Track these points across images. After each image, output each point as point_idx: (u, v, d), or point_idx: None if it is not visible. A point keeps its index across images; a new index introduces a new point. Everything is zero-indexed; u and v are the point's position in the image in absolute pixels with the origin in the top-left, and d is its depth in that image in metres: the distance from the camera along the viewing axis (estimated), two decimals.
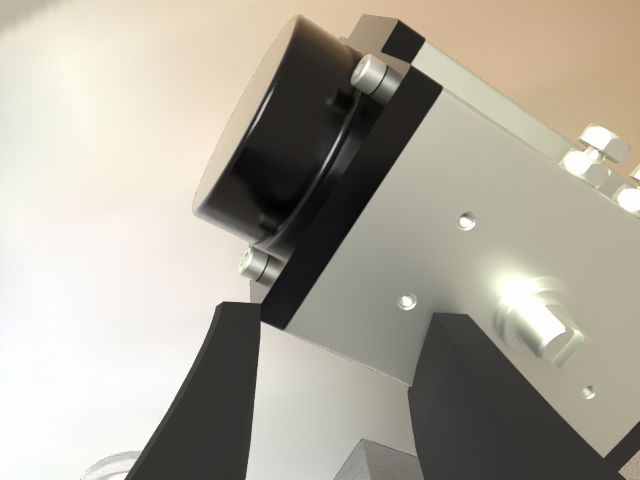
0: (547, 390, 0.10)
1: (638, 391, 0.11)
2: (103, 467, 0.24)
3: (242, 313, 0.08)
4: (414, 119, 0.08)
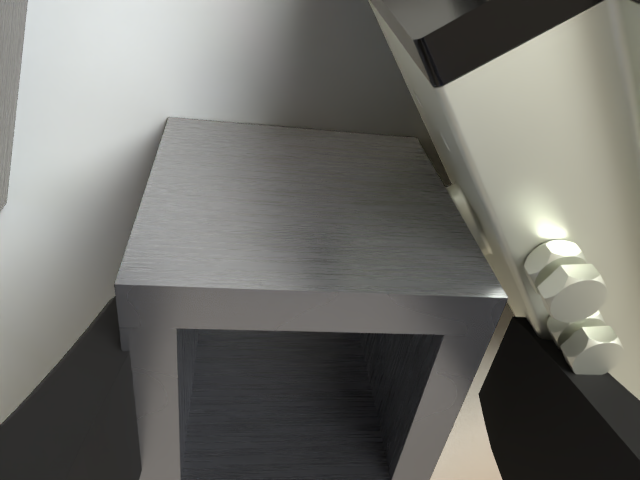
0: None
1: (514, 309, 0.12)
2: None
3: None
4: (417, 62, 0.06)
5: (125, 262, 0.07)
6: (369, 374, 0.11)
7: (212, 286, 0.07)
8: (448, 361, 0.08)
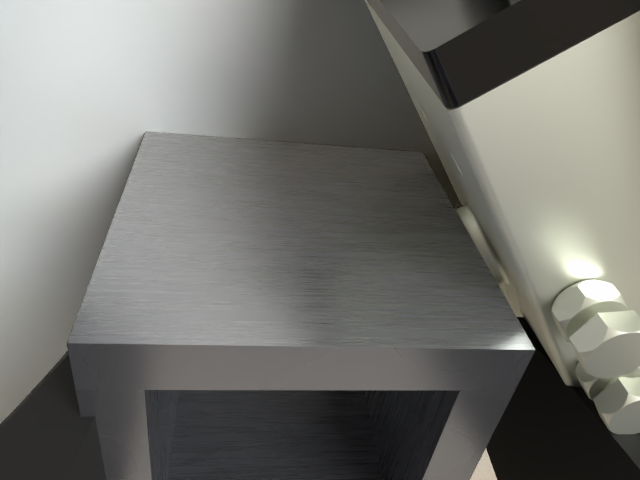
0: None
1: None
2: None
3: None
4: (426, 77, 0.05)
5: (82, 313, 0.06)
6: (370, 413, 0.10)
7: (186, 342, 0.06)
8: (463, 419, 0.07)
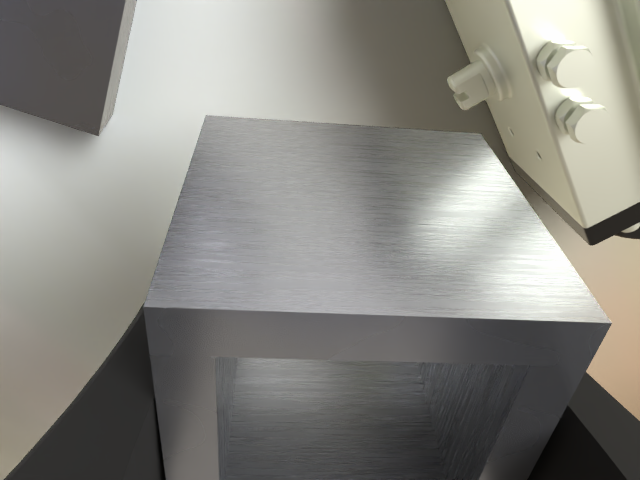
0: (496, 104, 0.15)
1: (529, 166, 0.15)
2: None
3: None
4: None
5: (156, 280, 0.06)
6: (427, 398, 0.10)
7: (256, 309, 0.06)
8: (533, 396, 0.07)
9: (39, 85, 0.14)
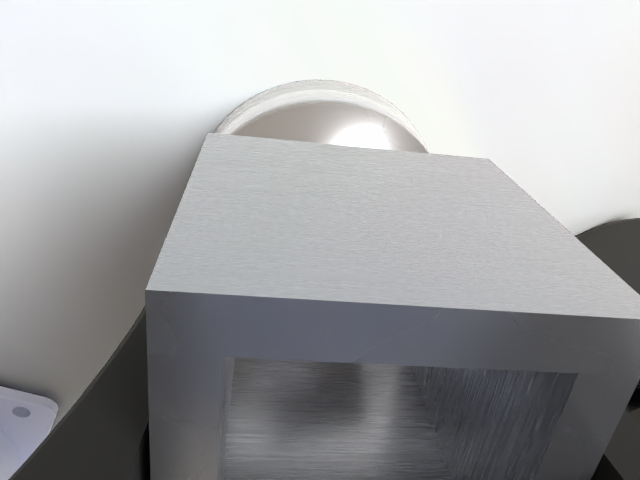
0: None
1: None
2: (409, 125, 0.12)
3: None
4: None
5: (159, 266, 0.05)
6: (441, 443, 0.09)
7: (275, 297, 0.05)
8: (580, 413, 0.06)
9: None
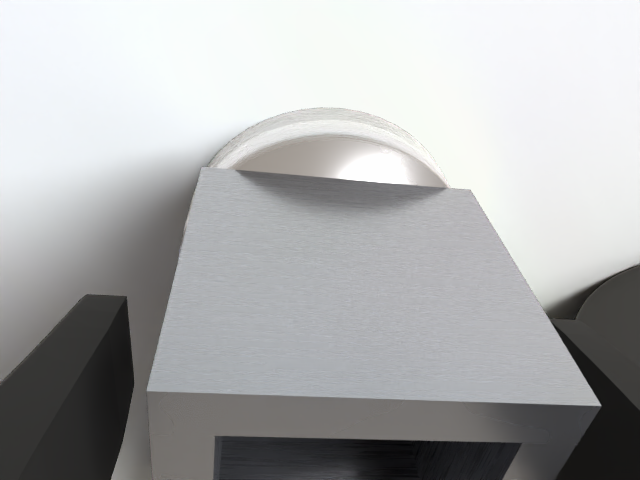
0: None
1: None
2: (429, 158, 0.11)
3: (100, 306, 0.08)
4: None
5: (158, 359, 0.06)
6: (413, 449, 0.10)
7: (259, 392, 0.06)
8: (523, 469, 0.07)
9: None
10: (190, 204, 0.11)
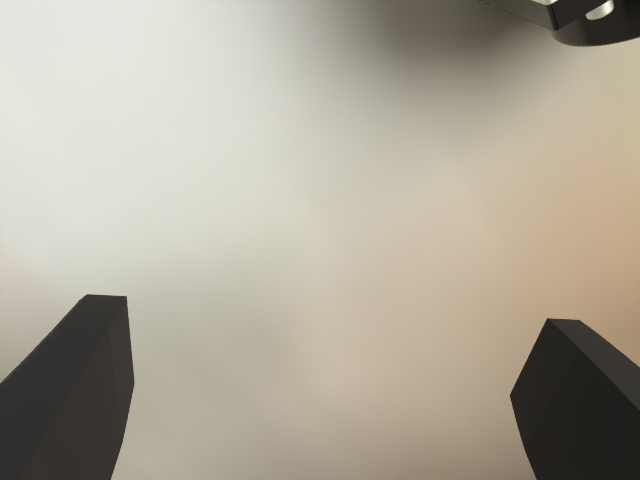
0: None
1: None
2: None
3: (101, 306, 0.08)
4: None
5: None
6: None
7: None
8: None
9: None
10: None
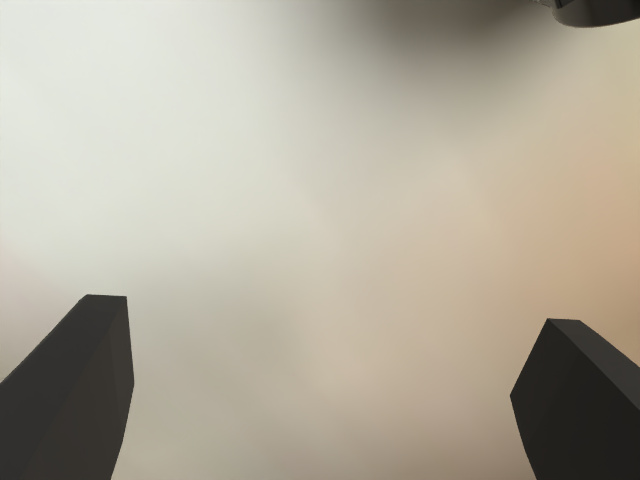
0: None
1: None
2: None
3: (100, 306, 0.08)
4: None
5: None
6: None
7: None
8: None
9: None
10: None
